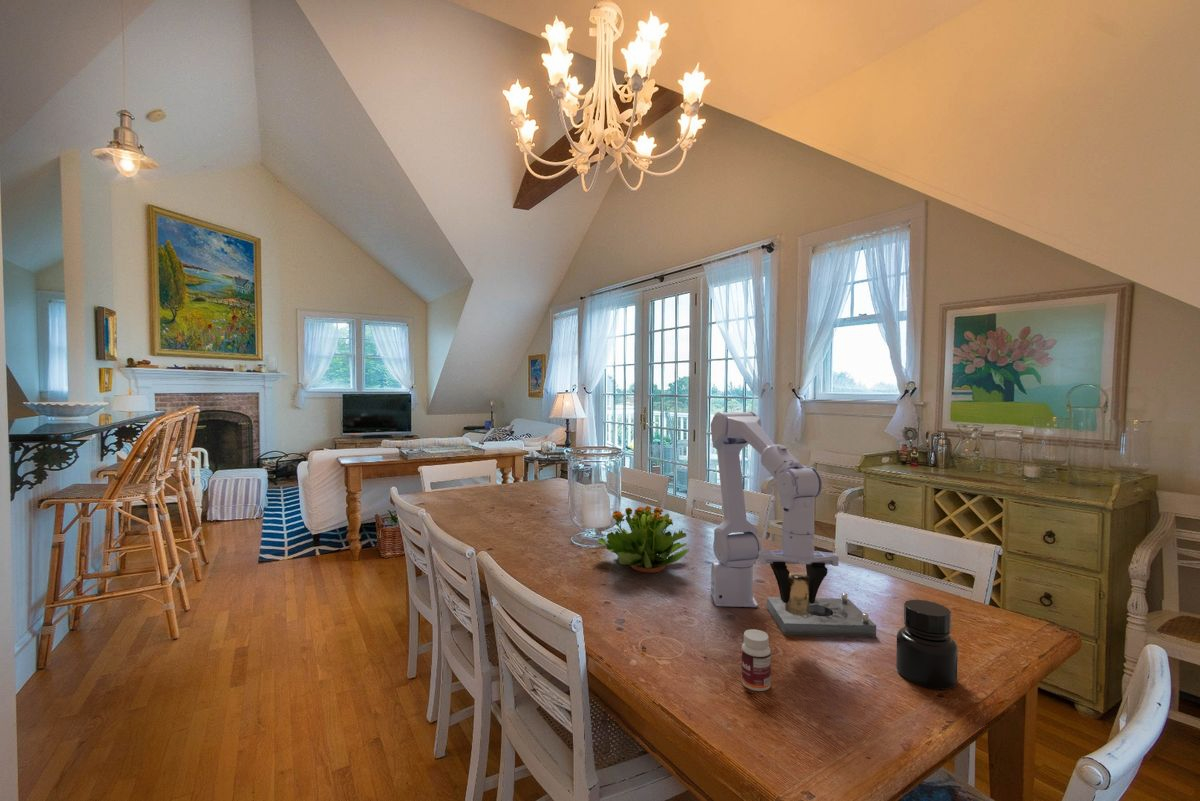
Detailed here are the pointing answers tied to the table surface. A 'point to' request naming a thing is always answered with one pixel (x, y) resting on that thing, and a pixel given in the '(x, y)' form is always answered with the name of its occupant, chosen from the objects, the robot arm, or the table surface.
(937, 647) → the ink bottle
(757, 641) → the pill bottle
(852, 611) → the jig
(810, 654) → the table surface
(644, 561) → the potted flower
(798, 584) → the bushing
